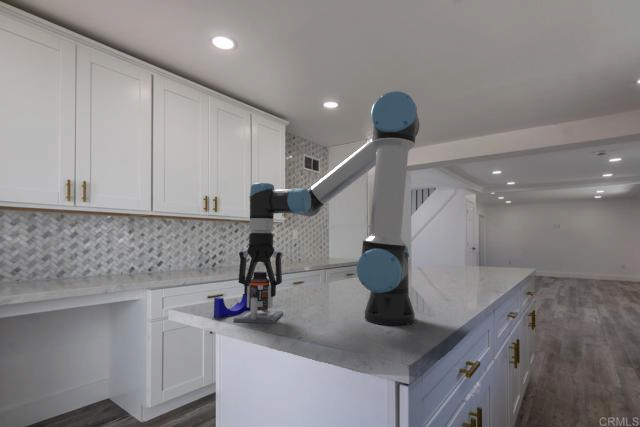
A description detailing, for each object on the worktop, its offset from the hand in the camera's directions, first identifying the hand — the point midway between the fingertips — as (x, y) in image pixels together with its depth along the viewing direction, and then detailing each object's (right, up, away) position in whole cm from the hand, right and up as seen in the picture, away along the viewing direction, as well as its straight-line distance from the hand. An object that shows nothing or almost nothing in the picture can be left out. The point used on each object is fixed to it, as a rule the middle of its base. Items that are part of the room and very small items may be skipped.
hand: (259, 306), depth 107 cm
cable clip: (-10, -4, +5) cm, 12 cm away
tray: (0, -3, 0) cm, 3 cm away
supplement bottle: (0, -1, 0) cm, 1 cm away
